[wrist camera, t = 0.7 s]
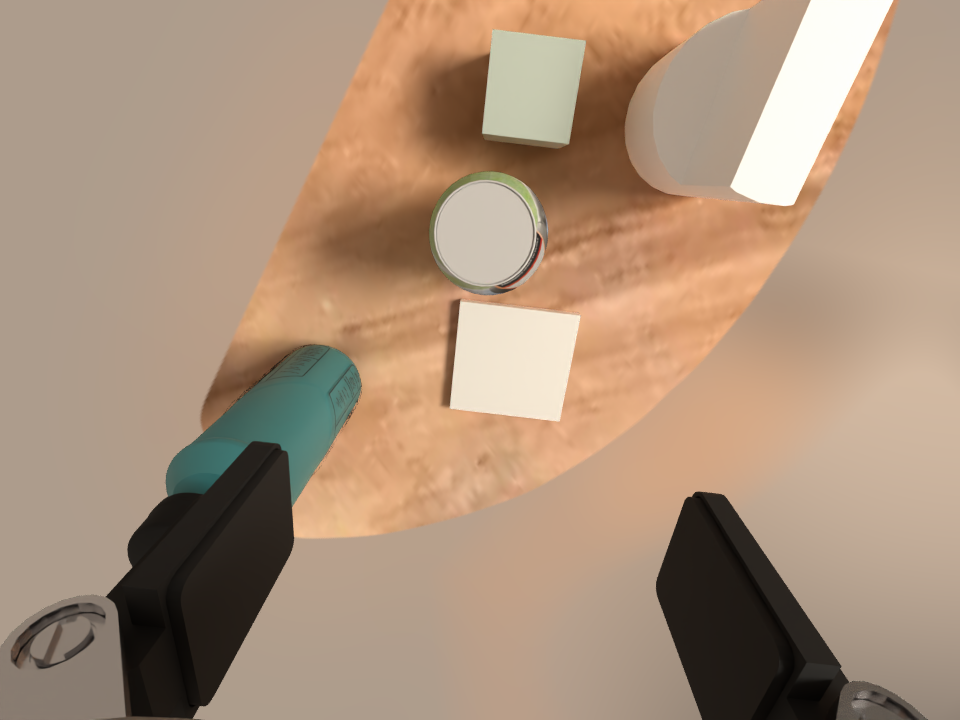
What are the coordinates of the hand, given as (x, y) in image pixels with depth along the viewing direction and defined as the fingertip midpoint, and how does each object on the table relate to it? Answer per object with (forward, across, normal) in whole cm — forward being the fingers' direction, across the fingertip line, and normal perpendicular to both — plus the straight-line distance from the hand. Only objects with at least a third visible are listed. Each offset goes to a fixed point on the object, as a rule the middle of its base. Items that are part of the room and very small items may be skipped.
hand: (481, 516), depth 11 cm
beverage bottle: (+25, +12, +9) cm, 30 cm away
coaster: (+25, -2, +6) cm, 26 cm away
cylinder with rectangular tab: (+26, -12, -12) cm, 31 cm away
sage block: (+26, -1, -12) cm, 28 cm away
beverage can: (+26, 0, -4) cm, 26 cm away
